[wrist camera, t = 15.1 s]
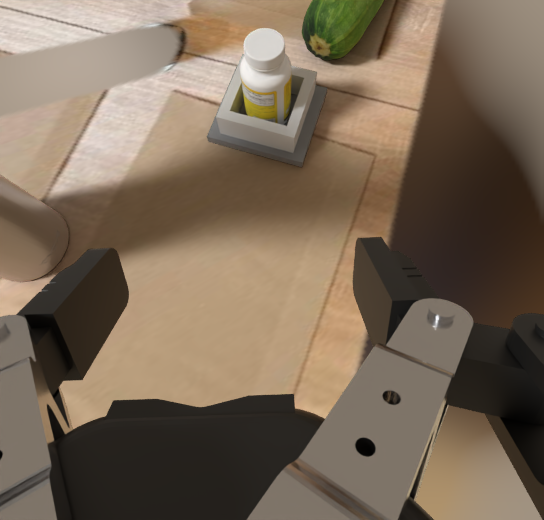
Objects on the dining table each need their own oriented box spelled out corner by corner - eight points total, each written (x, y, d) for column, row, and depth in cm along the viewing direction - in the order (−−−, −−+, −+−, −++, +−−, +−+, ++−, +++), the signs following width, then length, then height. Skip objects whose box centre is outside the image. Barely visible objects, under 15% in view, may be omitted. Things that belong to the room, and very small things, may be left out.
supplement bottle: (275, 87, 44) (274, 13, 34) (298, 118, 42) (304, 50, 33) (237, 107, 43) (226, 37, 33) (260, 139, 42) (255, 75, 32)
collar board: (208, 141, 43) (201, 120, 39) (238, 71, 46) (234, 45, 42) (301, 167, 42) (304, 147, 38) (326, 93, 44) (330, 68, 41)
